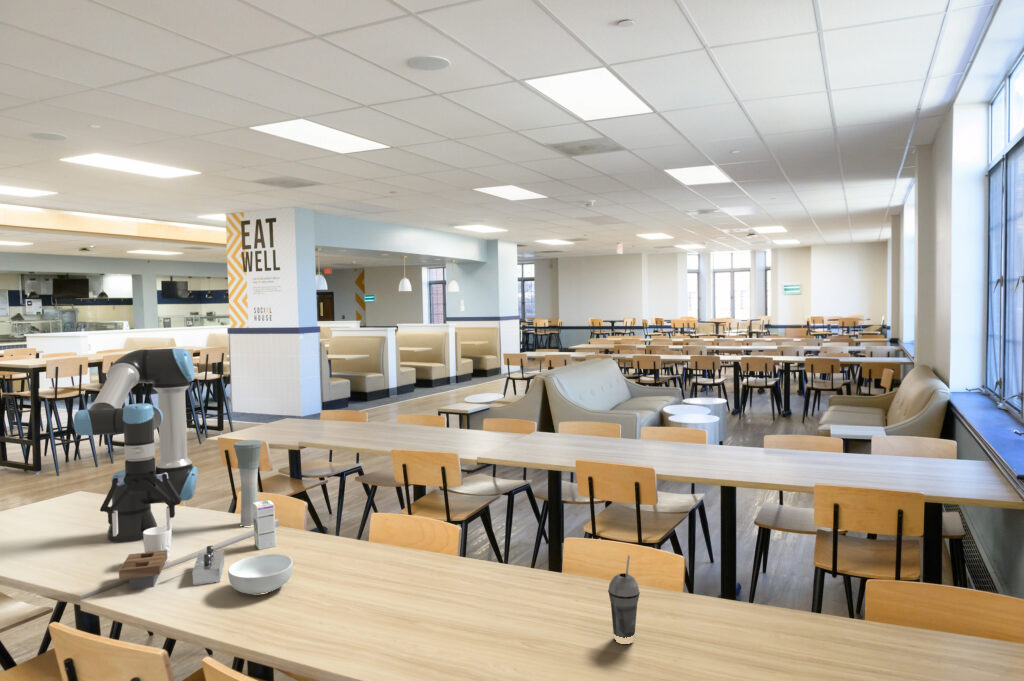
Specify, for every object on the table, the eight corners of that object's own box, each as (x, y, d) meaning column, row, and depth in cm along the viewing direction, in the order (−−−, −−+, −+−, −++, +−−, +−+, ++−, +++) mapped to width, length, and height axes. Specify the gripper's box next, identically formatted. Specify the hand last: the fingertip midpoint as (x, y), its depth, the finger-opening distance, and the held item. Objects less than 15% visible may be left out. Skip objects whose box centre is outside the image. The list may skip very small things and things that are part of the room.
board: (129, 562, 195) (129, 554, 195) (167, 558, 198) (167, 550, 198) (119, 579, 183) (118, 570, 183) (159, 574, 186) (159, 565, 186)
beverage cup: (605, 633, 158) (604, 550, 157) (635, 631, 159) (634, 549, 158) (612, 648, 151) (612, 562, 150) (643, 647, 151) (643, 561, 150)
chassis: (199, 566, 202) (198, 543, 202) (224, 563, 204) (223, 540, 204) (193, 585, 188) (192, 561, 188) (219, 581, 190) (219, 558, 190)
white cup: (178, 557, 210) (177, 526, 209) (162, 567, 202) (161, 534, 201) (154, 556, 210) (153, 525, 210) (138, 566, 203) (137, 534, 202)
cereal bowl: (215, 597, 180) (214, 572, 180) (258, 574, 196) (257, 550, 195) (265, 606, 174) (264, 580, 174) (305, 581, 190) (305, 557, 190)
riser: (136, 577, 194) (135, 564, 194) (159, 574, 196) (158, 561, 196) (129, 589, 185) (129, 575, 185) (153, 586, 187) (153, 572, 187)
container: (240, 520, 246) (238, 440, 244) (267, 519, 247) (265, 439, 245) (232, 529, 236) (230, 445, 235) (260, 527, 237) (258, 444, 236)
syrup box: (276, 546, 218) (275, 503, 218) (257, 550, 215) (256, 506, 214) (272, 541, 223) (270, 499, 222) (253, 545, 220) (252, 502, 219)
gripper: (85, 464, 181) (88, 541, 182) (186, 457, 189) (188, 530, 190) (93, 459, 188) (96, 533, 189) (190, 452, 196) (192, 522, 197)
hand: (142, 532), depth 190 cm, fingers open, 13 cm apart
